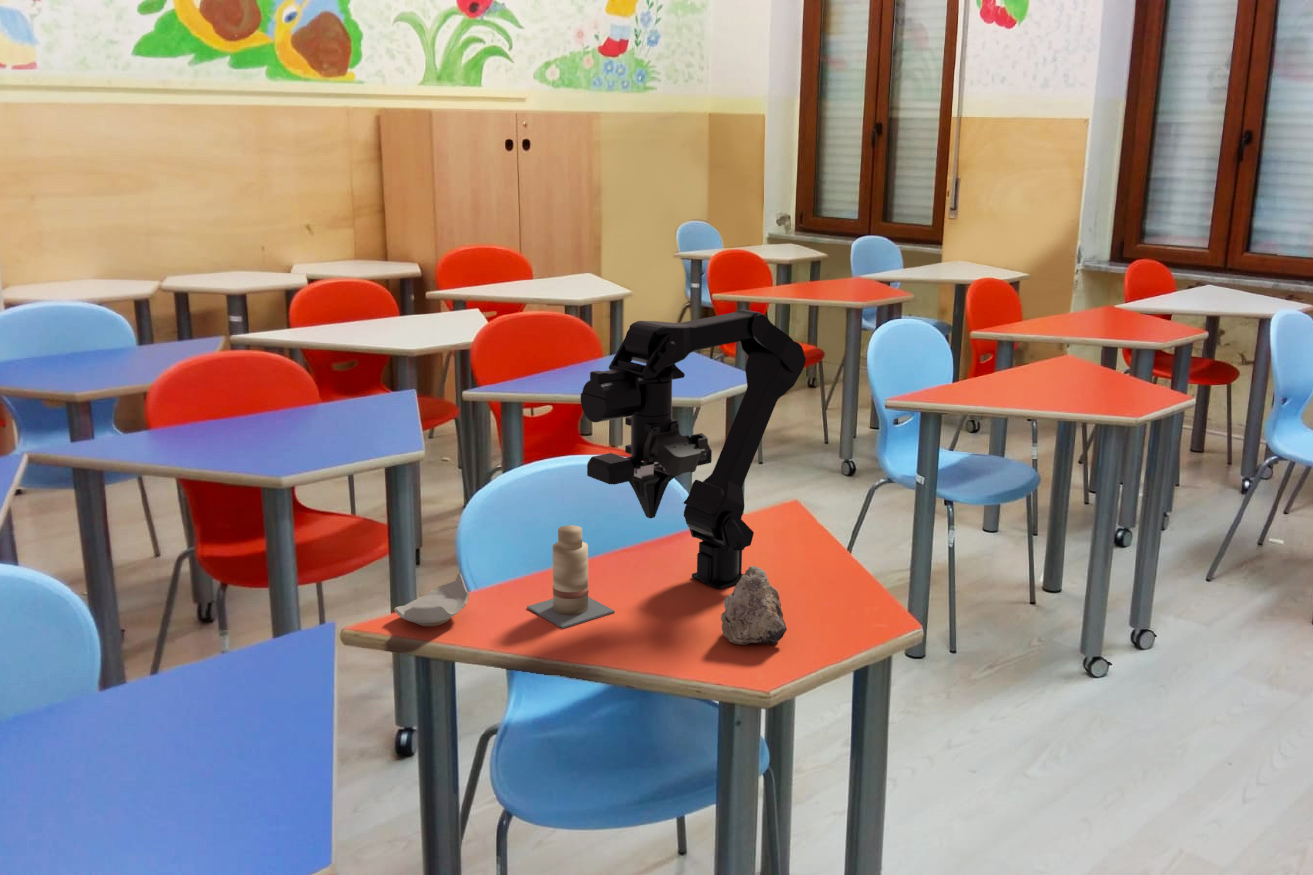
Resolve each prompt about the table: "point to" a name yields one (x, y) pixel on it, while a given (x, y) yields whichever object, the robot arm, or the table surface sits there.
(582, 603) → the skittle
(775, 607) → the rock
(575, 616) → the mat
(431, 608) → the pottery shard
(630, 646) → the table surface
